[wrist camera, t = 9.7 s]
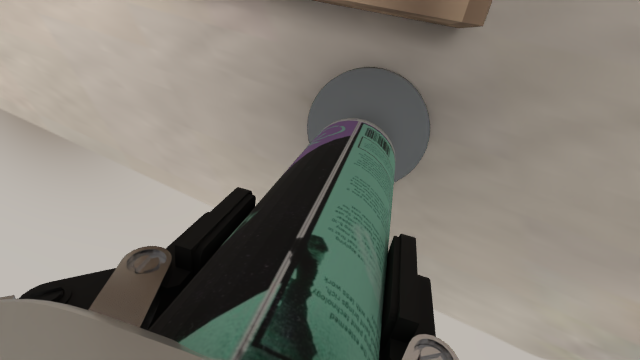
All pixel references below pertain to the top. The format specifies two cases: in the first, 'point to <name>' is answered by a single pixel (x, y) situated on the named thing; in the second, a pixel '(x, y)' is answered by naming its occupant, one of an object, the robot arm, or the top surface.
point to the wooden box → (426, 10)
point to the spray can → (300, 261)
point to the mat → (376, 111)
